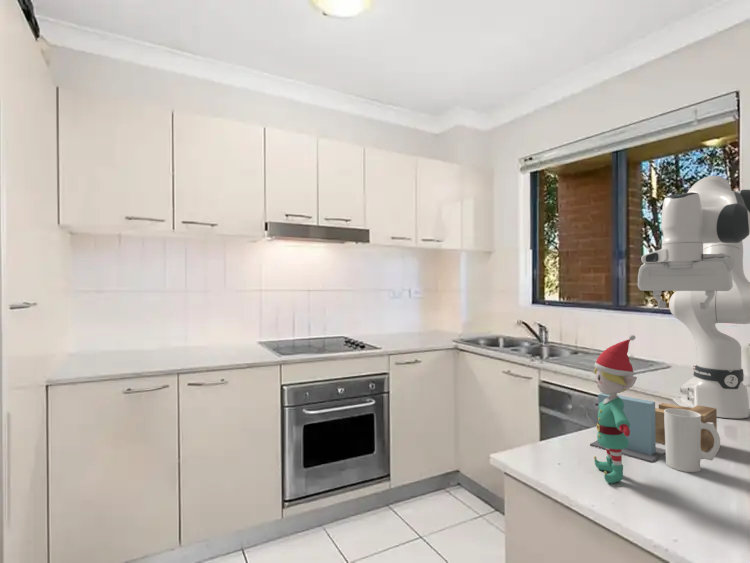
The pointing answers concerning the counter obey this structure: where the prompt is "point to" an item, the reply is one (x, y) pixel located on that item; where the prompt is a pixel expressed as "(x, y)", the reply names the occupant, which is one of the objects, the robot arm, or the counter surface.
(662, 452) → the mat
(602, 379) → the toy
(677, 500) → the counter surface
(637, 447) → the blue rectangular block
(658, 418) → the slot box
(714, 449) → the mug
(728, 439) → the counter surface
